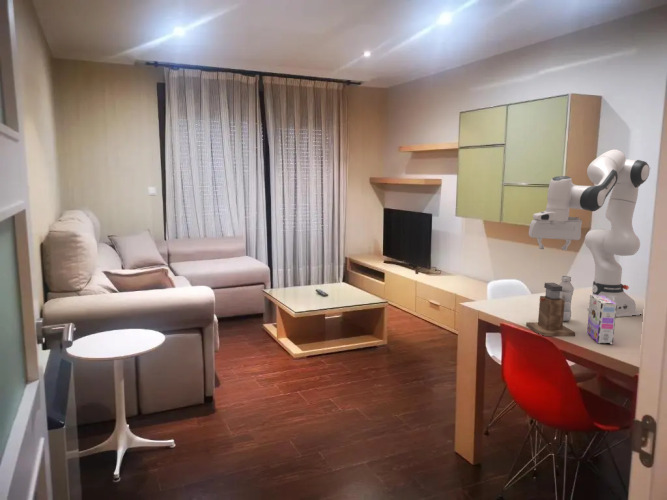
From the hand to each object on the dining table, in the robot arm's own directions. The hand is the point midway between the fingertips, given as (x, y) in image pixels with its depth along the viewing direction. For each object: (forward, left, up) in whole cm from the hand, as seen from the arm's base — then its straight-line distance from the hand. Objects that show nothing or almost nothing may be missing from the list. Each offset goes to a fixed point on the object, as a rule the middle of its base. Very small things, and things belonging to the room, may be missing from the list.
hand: (552, 249), depth 208 cm
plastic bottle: (-13, -11, -34) cm, 38 cm away
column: (0, +3, -32) cm, 32 cm away
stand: (0, +3, -34) cm, 34 cm away
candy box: (-15, +13, -34) cm, 40 cm away
